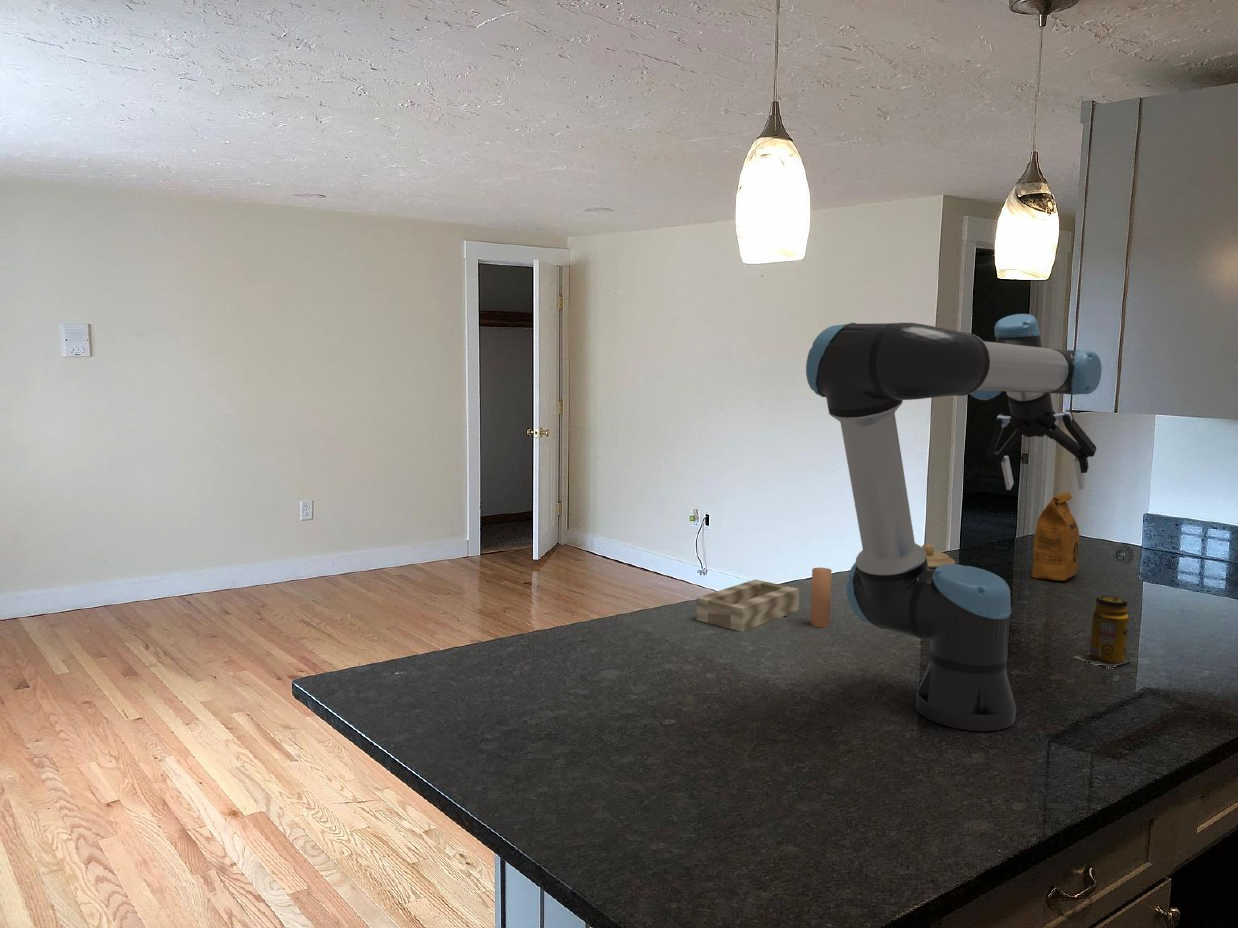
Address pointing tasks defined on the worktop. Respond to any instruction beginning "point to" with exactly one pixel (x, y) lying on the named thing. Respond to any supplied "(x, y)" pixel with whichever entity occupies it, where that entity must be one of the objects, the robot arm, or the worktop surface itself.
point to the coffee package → (1056, 541)
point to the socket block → (747, 605)
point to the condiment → (1108, 631)
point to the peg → (820, 597)
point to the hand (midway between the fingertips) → (1045, 486)
